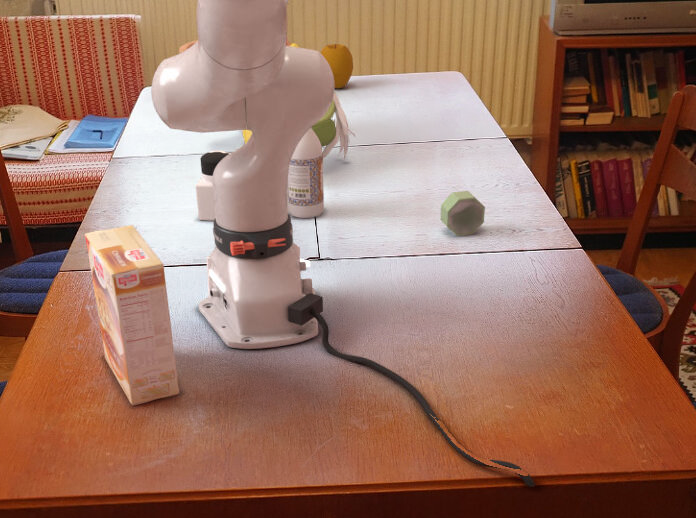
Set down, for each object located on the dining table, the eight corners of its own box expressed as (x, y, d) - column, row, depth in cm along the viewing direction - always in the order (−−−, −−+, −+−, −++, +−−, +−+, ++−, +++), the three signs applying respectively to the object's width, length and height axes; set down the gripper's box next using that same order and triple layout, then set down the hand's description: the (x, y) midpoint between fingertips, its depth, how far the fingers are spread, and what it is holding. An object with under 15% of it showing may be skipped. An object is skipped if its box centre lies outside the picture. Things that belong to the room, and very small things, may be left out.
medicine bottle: (234, 222, 185) (229, 160, 178) (198, 220, 186) (192, 159, 180) (243, 208, 191) (239, 148, 184) (208, 207, 192) (203, 147, 186)
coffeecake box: (103, 357, 142) (82, 232, 131) (150, 347, 144) (134, 223, 134) (130, 407, 130) (110, 273, 119) (181, 394, 132) (165, 262, 122)
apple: (315, 92, 262) (314, 47, 256) (320, 83, 270) (319, 39, 264) (351, 92, 260) (350, 47, 254) (355, 83, 268) (355, 39, 262)
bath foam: (325, 218, 185) (322, 112, 174) (288, 219, 184) (284, 114, 174) (322, 205, 190) (320, 102, 180) (287, 206, 190) (283, 104, 180)
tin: (483, 233, 175) (485, 196, 172) (446, 237, 174) (448, 200, 171) (476, 225, 178) (478, 189, 175) (439, 230, 177) (441, 193, 174)
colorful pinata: (335, 98, 189) (249, -16, 202) (231, 200, 199) (155, 84, 212) (399, 149, 217) (320, 46, 229) (304, 236, 227) (233, 132, 239)
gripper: (185, -83, 150) (187, 9, 158) (316, -71, 148) (310, 22, 156) (195, -92, 155) (196, -1, 163) (322, -80, 153) (316, 11, 161)
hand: (253, 10), depth 160 cm, fingers open, 8 cm apart
